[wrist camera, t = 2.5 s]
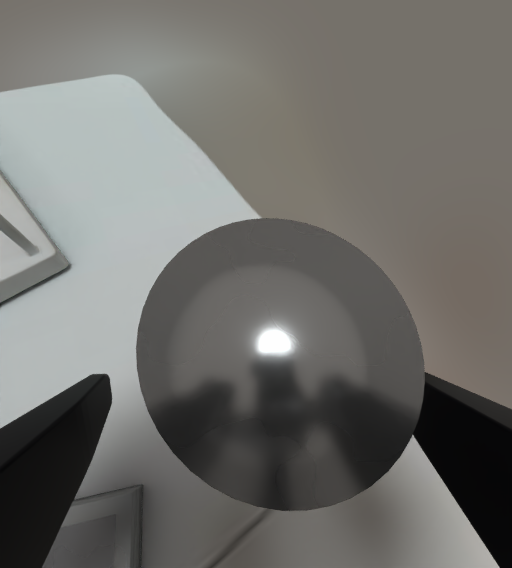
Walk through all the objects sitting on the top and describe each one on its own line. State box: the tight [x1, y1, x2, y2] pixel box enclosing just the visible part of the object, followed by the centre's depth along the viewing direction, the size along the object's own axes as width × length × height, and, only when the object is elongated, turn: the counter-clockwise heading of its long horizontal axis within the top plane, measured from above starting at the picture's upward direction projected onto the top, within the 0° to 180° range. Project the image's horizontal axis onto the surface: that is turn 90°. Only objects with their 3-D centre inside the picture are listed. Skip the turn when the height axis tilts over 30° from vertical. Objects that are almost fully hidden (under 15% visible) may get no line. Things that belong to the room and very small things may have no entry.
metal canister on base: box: [136, 218, 425, 511], centre depth 10 cm, size 6×6×12 cm
